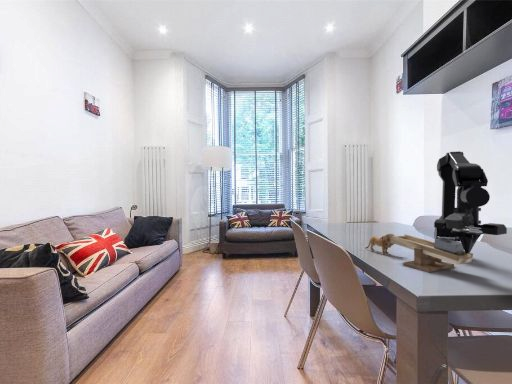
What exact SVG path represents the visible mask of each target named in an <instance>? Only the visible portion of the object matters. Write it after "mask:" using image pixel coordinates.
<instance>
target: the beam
mask: <svg viewBox="0 0 512 384" xmlns="http://www.w3.org/2000/svg"><path fill="white" fill-rule="evenodd" d="M391 243H394V245H396V246H400V247H403V248H406V249H409V250H412V251H414V248H421V249H423V253H424V254H427V255H430V256H433V257H436V258H439V259H442V261H444V262H447V263H451V264H454V265H461V264H467V263H471V262H473V256H474V253H473V252H470V253H465V251H464V253H463V255H461V256H458V255H455V254H452V253H448V252H445V251H442V250H438V249H435V248H434V243H435V241H431V240H427V239H423V238H419V237H416V236H412V235H409V234H407V233H405V234H403V235H395V236H392V238H391Z"/></svg>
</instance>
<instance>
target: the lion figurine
mask: <svg viewBox="0 0 512 384" xmlns="http://www.w3.org/2000/svg"><path fill="white" fill-rule="evenodd" d="M392 236H396V235H395V234H394V233H387V234H385V235H382V236H381V237H377V236H375V235H374V236H373V235H372V236H371V237H370V239H369V243H368V245H367V246H366V247H365V248H364V249H369V247H370V252H372V253H373V252H375V251H374V248H373V247H374V246H377V247H381V251H382V253H381V254H382V255H387V254H390V253H389V252H388V249H389V248H391V247H392V246H394V245H395V244H394V243H391V238H392Z"/></svg>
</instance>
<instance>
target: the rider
mask: <svg viewBox="0 0 512 384" xmlns="http://www.w3.org/2000/svg"><path fill="white" fill-rule="evenodd" d="M446 238H447V237H444V238H440V239H434V248H435V249H438V250H442V251H445V252H448V253H452V254H455V255H458V256H461V255H463V253H464V248H463V246H462V244H461V241H460V242H458V241H453V240H449V239H446Z"/></svg>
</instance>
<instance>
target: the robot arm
mask: <svg viewBox="0 0 512 384" xmlns="http://www.w3.org/2000/svg"><path fill="white" fill-rule="evenodd" d="M464 155H465V154H464V151H459V150H458V151H449V152H446V153H445V155H443V156H441V158H439V159H438V161H437V163H436V171H437V173H438V174H437V175H438V176H439V178H440V179H441V181H442V194H441V195H442V196H441V197H442V198H441V215H440V217H439V218H438V219H435V220H434V222H433V227H434V232H433V239H434V240H435V239H440V238H446V239H449V240H453V241H457V242H461V244H462V246H463V248H464V251H465V253H471V251H472V250H473V247H474V246H475V244H476V242H477V241H478V240H479V238H480V237H481V236H482V235H489V236H490V235H491V236H492V235H493V236H500V235H507V233H508V232H507V230H508V227H506V225H505V224H503V223H492V222H489V223H482V221H481V220H479V218H480V217H479V215H480V214H479V213H480V212H481V211H482V207H483V206H485V205H487V204H488V203H489V202H490V197H491V196H490V193H489V191H488V190H487V189H486V188H483V187H487V186H488V182H489V180H488V178H487V175H486V172H485V171H484V169H483V168H482V167H481V166H480V164H478V163H472V162H471V163H470V162H469V160H468V159H467V158H466V156H464ZM456 188H457V189H456Z"/></svg>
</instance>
